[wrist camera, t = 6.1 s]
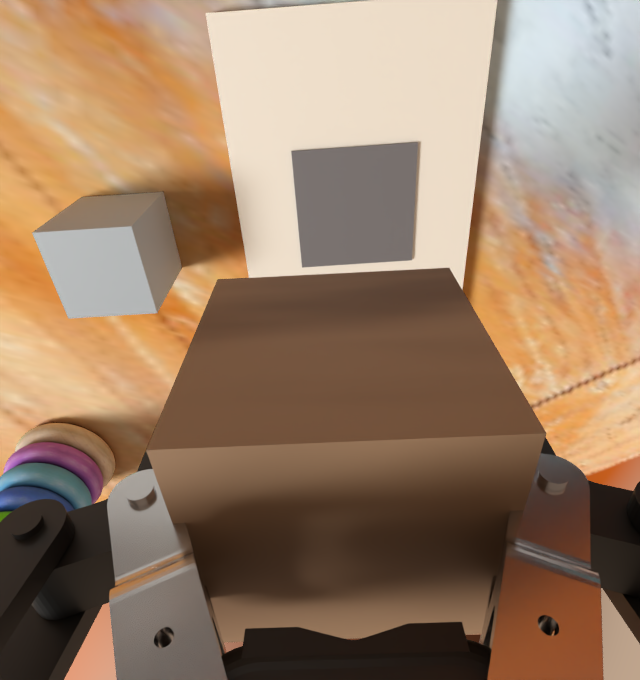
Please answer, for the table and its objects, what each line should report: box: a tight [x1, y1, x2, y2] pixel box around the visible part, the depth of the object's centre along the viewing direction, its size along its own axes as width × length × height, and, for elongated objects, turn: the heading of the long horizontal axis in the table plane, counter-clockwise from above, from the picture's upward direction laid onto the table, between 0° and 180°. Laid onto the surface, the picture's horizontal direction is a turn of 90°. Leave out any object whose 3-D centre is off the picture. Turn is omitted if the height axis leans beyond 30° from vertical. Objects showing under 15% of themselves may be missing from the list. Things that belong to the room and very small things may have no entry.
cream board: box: [206, 0, 497, 289], centre depth 28 cm, size 20×14×1 cm
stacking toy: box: [0, 423, 115, 522], centre depth 32 cm, size 8×8×19 cm
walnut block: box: [146, 268, 546, 642], centre depth 11 cm, size 6×6×6 cm
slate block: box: [32, 192, 182, 318], centre depth 27 cm, size 5×5×6 cm
